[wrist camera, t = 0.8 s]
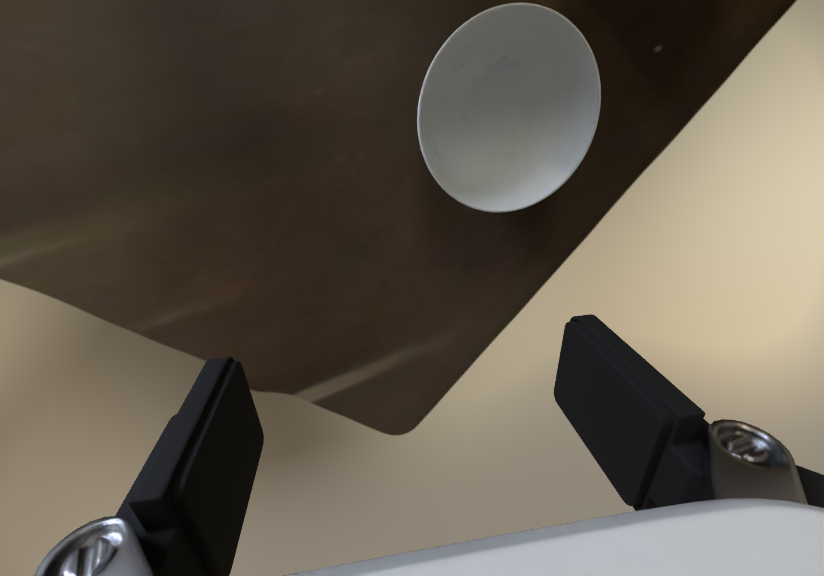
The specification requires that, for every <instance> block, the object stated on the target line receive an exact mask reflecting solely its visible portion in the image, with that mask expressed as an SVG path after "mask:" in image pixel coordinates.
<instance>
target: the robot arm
mask: <svg viewBox="0 0 824 576" xmlns="http://www.w3.org/2000/svg"><path fill="white" fill-rule="evenodd" d="M554 396H555V400H556V402H557V404H558V405H559V407H560V408H561V410H562V411H563V413H564V414H565V416H566V417H567V419H568V420H569V422H570V423H571V424H572V426H573V427H574V429H575V430H576V432H577V433H578V434H579V436H580V438H581V439H582V441H583V442H584V443H585V445H586V447H587V448H588V449H589V451H590V452H591V454H592V455H593V456H594V458H595V460H596V461H597V463H598V464H599V466H600V467H601V469H602V470H603V472H604V473H605V474H606V476H607V477H608V479H609V480H610V482H611V483H612V485H613V486H614V488H615V489H616V491H617V492H618V494H619V495H620V497H621V498H622V499H623V501H624V502H625V503H626V504H627V505H629V506H633V508H634V509H635V511H634V512H628V513H622V514H617V515H611V516H605V517H600V518H594V519H588V520H583V521H578V522H571V523H566V524H560V525H555V526H549V527H543V528H537V529H532V530H527V531H521V532H515V533H510V534H505V535H499V536H493V537H488V538H482V539H477V540H472V541H466V542H461V543H455V544H450V545H444V546H438V547H434V548H428V549H422V550H417V551H411V552H406V553H401V554H395V555H390V556H385V557H379V558H374V559H369V560H363V561H358V562H353V563H347V564H342V565H337V566H332V567H326V568H321V569H316V570H310V571H305V572H300V573H295V574H290V575H285V576H824V475H822V474H819V473H816V472H813V471H811V470H808V469H805V468H803V467H800V466H797V465H795V462H794V459H793V457H792V455H791V454H790V452H789V450H788V449H787V448H786V447H785V446H784V445H783V444H782V443H781V442H780V441H779V440H777V439H776V438H774V437H773V436H772V435H770V434H769V433H767V432H765V431H763V430H761V429H759V428H758V427H755V426H752V425H750V424H747V423H744V422H740V421H735V420H718V421H714V422H713V423H712V424H711V425H710V424H709V423H708V422H707V421H705V420H704V419H703V418H704V416H705V412H704V411H702V410H701V409H700V408H699V407H698V406H697V405H696V404H695V403H693V402H692V401H691V400H690V399H689V398H688V397H687V396H685V395H684V394H683V393H682V392H681V391H680V390H678V388H676V387H675V386H674V385H673V384H672V383H671V382H670V381H668V380H667V379H666V378H665V377H664V376H663V375H662V374H661V373H659V372H658V371H657V370H656V369H655V368H654V367H653V366H652V365H650V364H649V363H648V362H647V361H646V360H645V359H644V358H642V357H641V356H640V355H639V354H638V353H637V352H636V351H634V350H633V349H632V348H631V347H630V346H629V345H628V344H627V343H625V342H624V341H623V340H622V339H621V338H620V337H619V336H618V335H616V334H615V333H614V332H613V331H612V330H611V329H609V328H608V327H607V326H606V325H605V324H604V323H603V322H602V321H600V320H599V319H598V318H597V317H596V316H594V315H583V316H574V317H572V318H571V320H570V322H567V323H566V325H565V329H564V335H563V341H562V347H561V352H560V358H559V364H558V370H557V375H556V382H555V387H554ZM263 440H264V436H263V430H262V427H261V424H260V421H259V418H258V414H257V411H256V408H255V405H254V402H253V399H252V395H251V392H250V389H249V386H248V383H247V380H246V376H245V373H244V370H243V367H242V364H241V363H240V362H235V361H234V359H233V358H231V357H228V358H219V359H211V360H208V361H207V362H206V363H205V365H204V367H203V369H202V370H201V372H200V374H199V376H198V377H197V379H196V381H195V383H194V385H193V387H192V389H191V390H190V392H189V394H188V396H187V397H186V399H185V401H184V403H183V405H182V406H181V408H180V410H179V412H178V414H176V415H174V416H173V417H172V418H171V419H170V421H169V422H168V424H167V426H166V428H165V429H164V431H163V433H162V435H161V436H160V438H159V440H158V442H157V443H156V445H155V447H154V449H153V450H152V452H151V454H150V456H149V457H148V459H147V461H146V463H145V465H144V466H143V468H142V470H141V472H140V473H139V475H138V477H137V479H136V480H135V482H134V484H133V486H132V487H131V489H130V491H129V493H128V494H127V496H126V498H125V500H124V501H123V503H122V505H121V507H120V508H119V510H118V512H117V514H116V516H111V517H103V518H100V519H97V520H94V521H91V522H89V523H87V524H85V525H83V526H82V527H80V528H78V529H76V530H75V531H73V532H72V533H70V534H69V535H68V536H66V537H65V538H64V539H62V540H61V541H60V542H59V543H58V544H57V545H56V546H55V547H54V548H53V549H52V550H51V551H50V552H49V553H48V554H47V555H46V557H45V558H44V559H43V561H42V562H41V563H40V565H39V566H38V568H37V570H36V572H35V574H34V576H229V574H230V571H231V568H232V565H233V561H234V557H235V553H236V549H237V545H238V541H239V537H240V533H241V529H242V525H243V521H244V518H245V514H246V510H247V506H248V502H249V498H250V494H251V490H252V486H253V482H254V479H255V475H256V471H257V467H258V463H259V459H260V455H261V451H262V447H263Z"/></svg>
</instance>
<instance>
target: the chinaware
mask: <svg viewBox="0 0 824 576" xmlns="http://www.w3.org/2000/svg"><path fill="white" fill-rule="evenodd" d="M600 104H601V85H600V77H599V71H598V67H597V63H596V60H595V57H594V55H593V52H592V50H591V48H590V46H589V44H588V42H587V41H586V39H585V38H584V36H583V35H582V33H581V32H580V31H579V30H578V28H577V27H576V26H575V25H574V24H573V23H572V22H570V21H569V20H568V19H567V18H566V17H564V16H563V15H561V14H560V13H558V12H556V11H554V10H552V9H550V8H547V7H544V6H541V5H537V4H531V3H510V4H504V5H500V6H496V7H493V8H490V9H488V10H485V11H483V12H481V13H479V14H477V15H476V16H474V17H472V18H471V19H469V20H468V21H467V22H465V23H464V24H463V25H461V26H460V27H459V28H458V29H457V30H456V31H455V32H454V33H453V34H452V35H451V36H450V37H449V38H448V39H447V40H446V42H445V43H444V44H443V46H442V47H441V48H440V50H439V51H438V53H437V54H436V56H435V58H434V59H433V61H432V63H431V65H430V67H429V69H428V71H427V74H426V76H425V79H424V82H423V85H422V89H421V93H420V97H419V103H418V113H417V128H418V137H419V143H420V147H421V151H422V154H423V157H424V160H425V162H426V164H427V167H428V169H429V171H430V172H431V174H432V176H433V177H434V179H435V180H436V181H437V183H438V184H439V185H440V186H441V187H442V188H443V189H444V190H445V191H446V192H447V193H448V194H449V195H450V196H451V197H453V198H454V199H455V200H457V201H459V202H460V203H462V204H464V205H466V206H468V207H471V208H474V209H477V210H481V211H486V212H510V211H515V210H519V209H523V208H526V207H529V206H531V205H533V204H536V203H538V202H539V201H541V200H543V199H545V198H546V197H548V196H549V195H551V194H552V193H553V192H555V191H556V190H557V189H558V188H559V187H561V186H562V185H563V184H564V183H565V182H566V181H567V180H568V179H569V177H570V176H571V175H572V174H573V173H574V171H575V170H576V169H577V167H578V166H579V164H580V163H581V161H582V160H583V158H584V156H585V154H586V153H587V151H588V149H589V146H590V144H591V142H592V139H593V137H594V134H595V130H596V127H597V123H598V118H599V113H600Z"/></svg>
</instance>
